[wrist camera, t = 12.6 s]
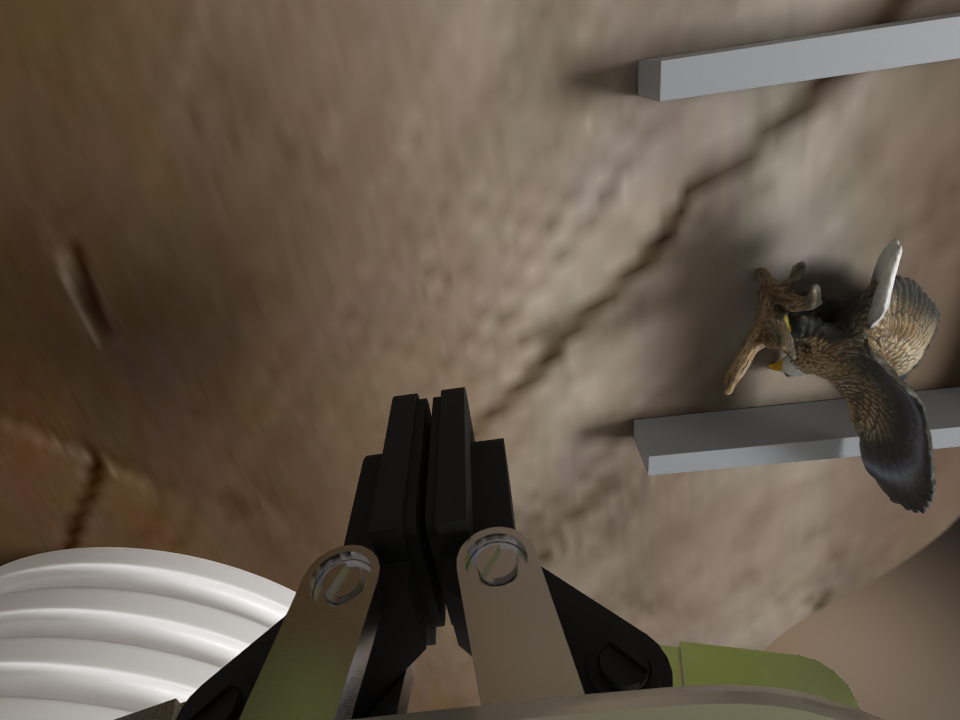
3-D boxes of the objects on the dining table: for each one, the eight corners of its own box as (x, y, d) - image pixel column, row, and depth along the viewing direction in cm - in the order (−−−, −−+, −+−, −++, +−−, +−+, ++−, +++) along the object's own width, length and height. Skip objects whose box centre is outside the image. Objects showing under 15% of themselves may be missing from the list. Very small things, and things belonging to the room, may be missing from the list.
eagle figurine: (662, 392, 22) (839, 504, 22) (786, 390, 14) (1039, 554, 15) (747, 238, 22) (914, 350, 23) (902, 166, 15) (1135, 330, 16)
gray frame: (638, 60, 17) (661, 60, 14) (1194, -23, 15) (1310, -37, 13) (633, 437, 24) (648, 475, 22) (1009, 400, 23) (1064, 436, 21)
